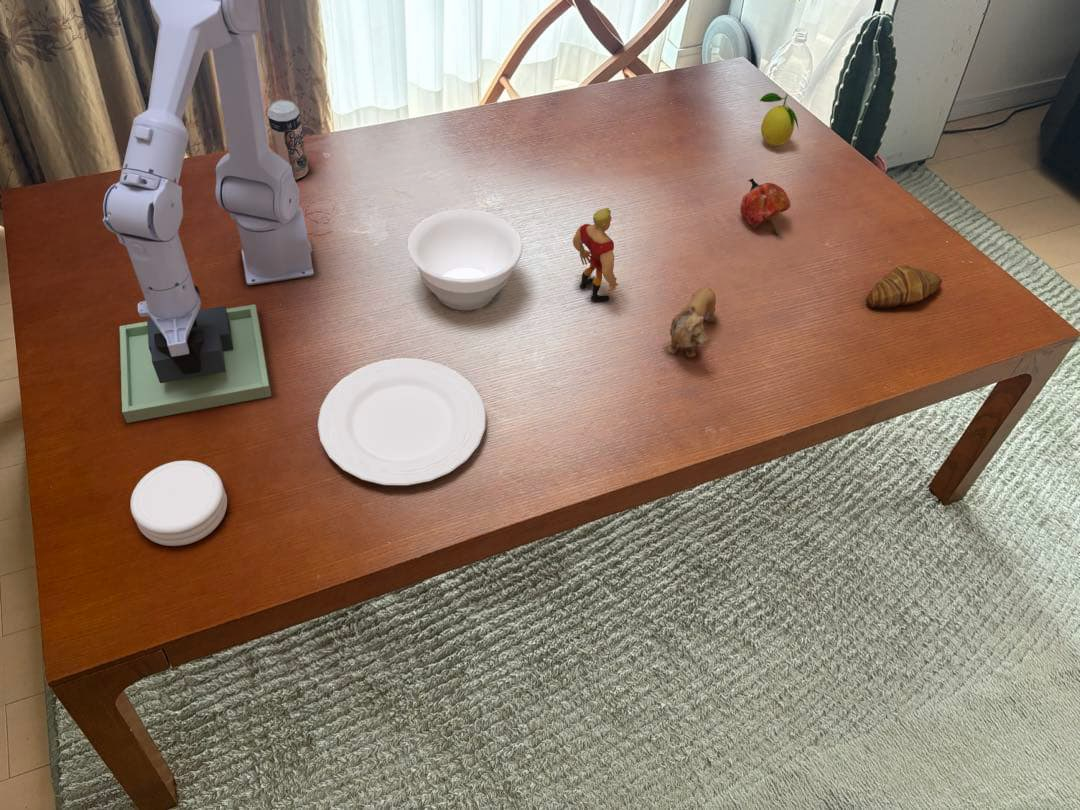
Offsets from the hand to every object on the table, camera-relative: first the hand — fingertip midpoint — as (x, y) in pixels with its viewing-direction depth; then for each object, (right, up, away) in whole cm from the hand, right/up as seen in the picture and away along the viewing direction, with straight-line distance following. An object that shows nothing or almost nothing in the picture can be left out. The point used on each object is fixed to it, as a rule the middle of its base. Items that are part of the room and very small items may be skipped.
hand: (190, 355), depth 117 cm
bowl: (+34, +10, +17) cm, 39 cm away
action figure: (+52, +10, +18) cm, 56 cm away
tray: (-1, -1, +4) cm, 4 cm away
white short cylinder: (+3, -19, -11) cm, 22 cm away
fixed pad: (-2, +2, +6) cm, 7 cm away
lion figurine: (+66, +3, +13) cm, 67 cm away
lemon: (+85, +40, +46) cm, 105 cm away
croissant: (+99, +10, +22) cm, 101 cm away
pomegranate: (+80, +23, +31) cm, 89 cm away
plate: (+27, -9, -1) cm, 29 cm away
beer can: (+4, +31, +33) cm, 46 cm away
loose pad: (0, -1, +1) cm, 2 cm away
